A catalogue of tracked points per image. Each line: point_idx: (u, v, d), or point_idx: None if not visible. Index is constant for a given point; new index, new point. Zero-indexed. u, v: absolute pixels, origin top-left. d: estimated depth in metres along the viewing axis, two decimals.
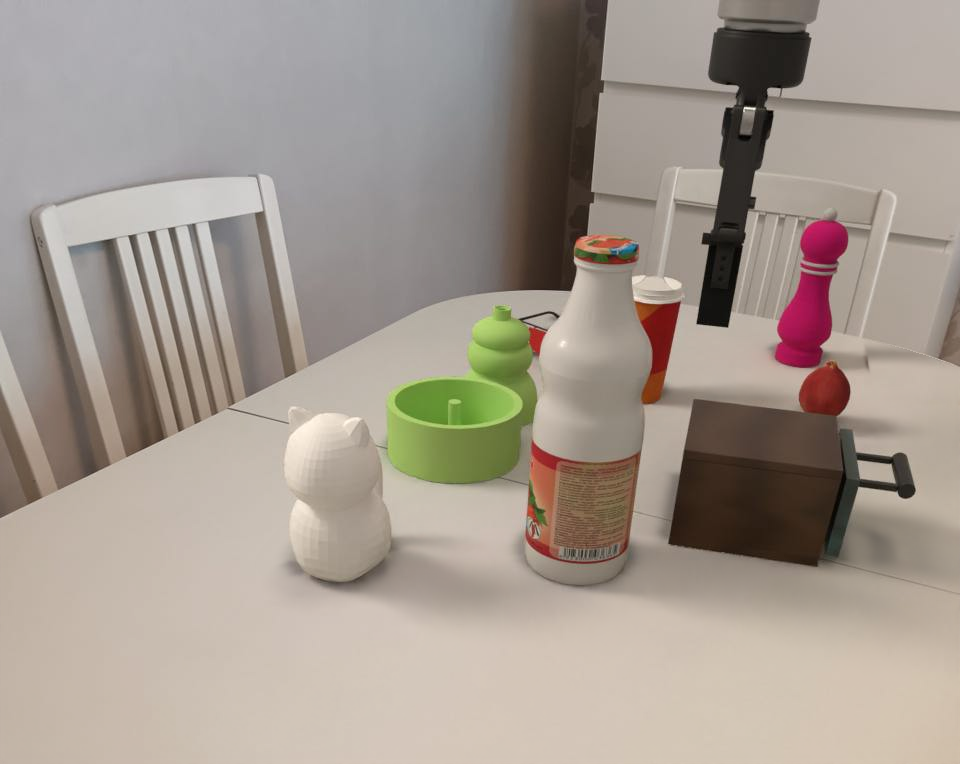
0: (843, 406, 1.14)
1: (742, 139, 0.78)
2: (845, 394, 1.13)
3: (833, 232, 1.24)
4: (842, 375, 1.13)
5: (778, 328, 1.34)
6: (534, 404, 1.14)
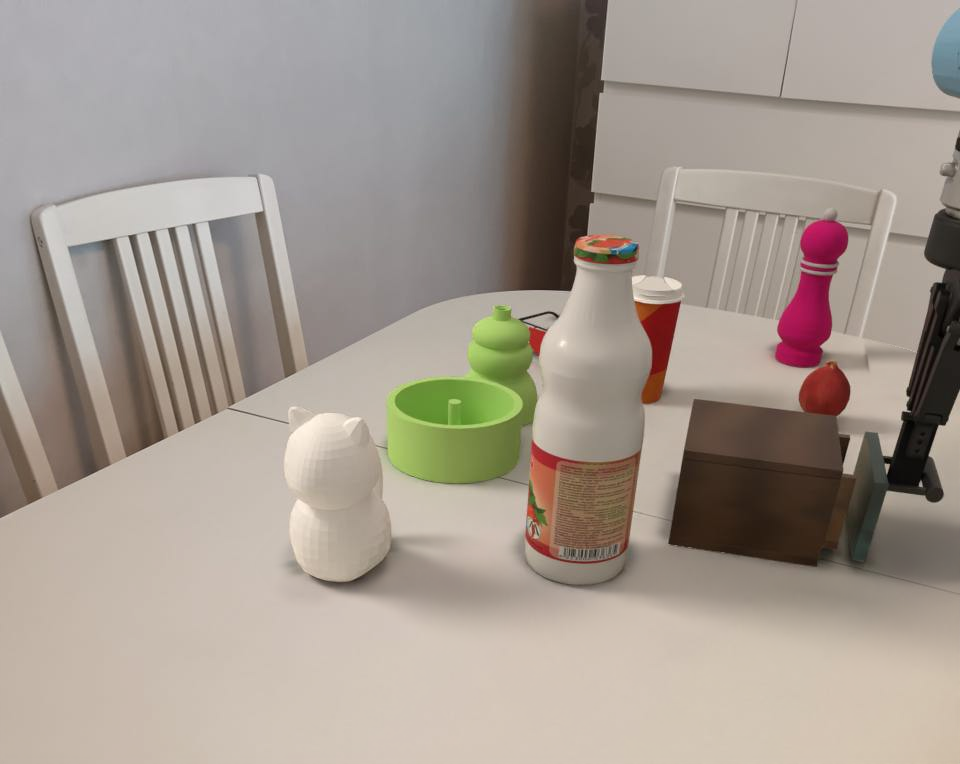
0: (843, 406, 1.14)
1: (959, 320, 0.78)
2: (845, 394, 1.13)
3: (833, 232, 1.24)
4: (842, 375, 1.13)
5: (778, 328, 1.34)
6: (534, 404, 1.14)
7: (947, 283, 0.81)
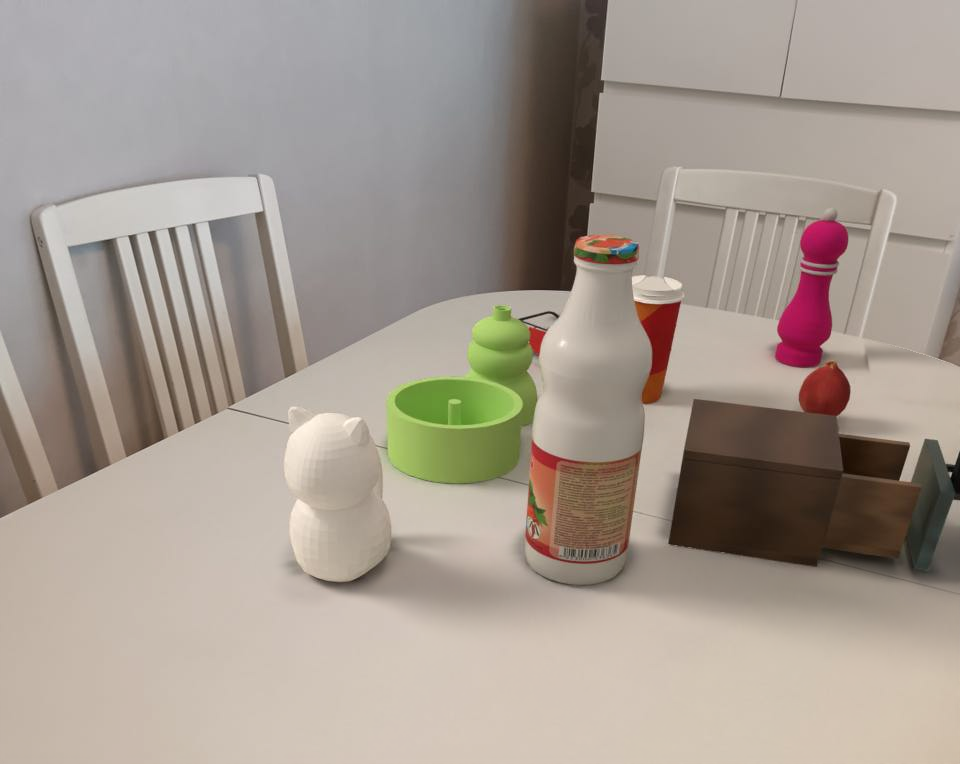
0: (843, 406, 1.14)
1: None
2: (845, 394, 1.13)
3: (833, 232, 1.24)
4: (842, 375, 1.13)
5: (778, 328, 1.34)
6: (534, 404, 1.14)
7: None
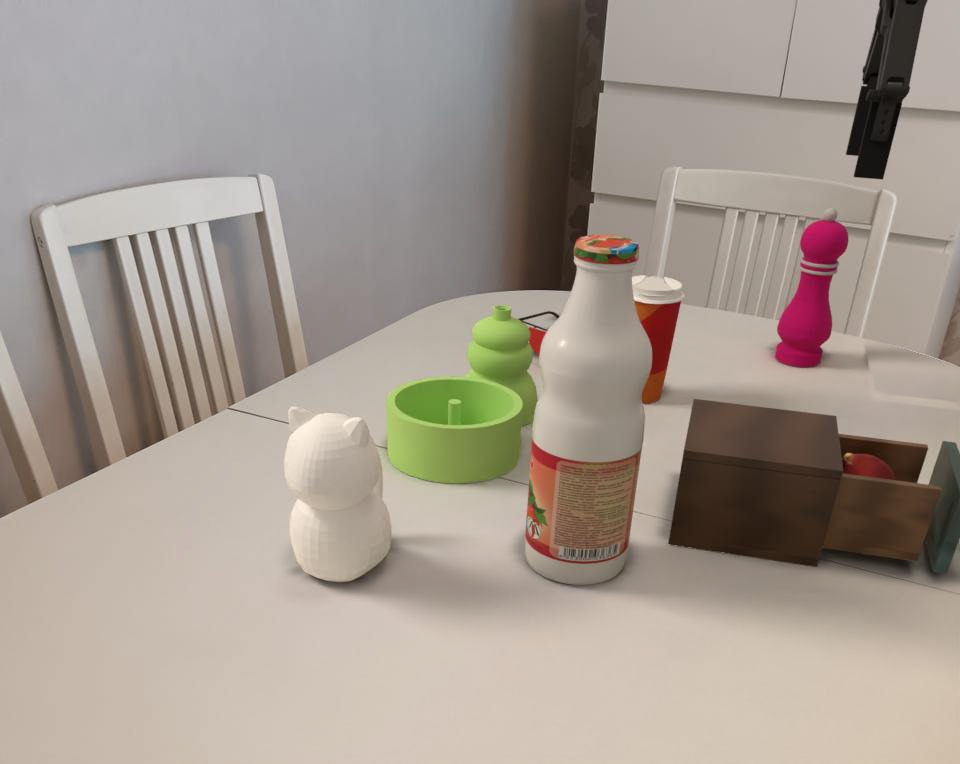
0: None
1: None
2: None
3: (833, 232, 1.24)
4: (868, 464, 0.88)
5: (778, 328, 1.34)
6: (534, 404, 1.14)
7: None
